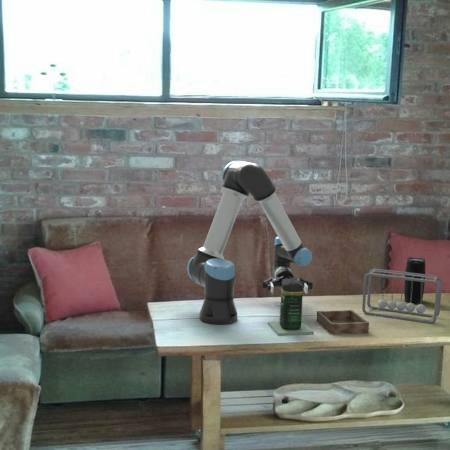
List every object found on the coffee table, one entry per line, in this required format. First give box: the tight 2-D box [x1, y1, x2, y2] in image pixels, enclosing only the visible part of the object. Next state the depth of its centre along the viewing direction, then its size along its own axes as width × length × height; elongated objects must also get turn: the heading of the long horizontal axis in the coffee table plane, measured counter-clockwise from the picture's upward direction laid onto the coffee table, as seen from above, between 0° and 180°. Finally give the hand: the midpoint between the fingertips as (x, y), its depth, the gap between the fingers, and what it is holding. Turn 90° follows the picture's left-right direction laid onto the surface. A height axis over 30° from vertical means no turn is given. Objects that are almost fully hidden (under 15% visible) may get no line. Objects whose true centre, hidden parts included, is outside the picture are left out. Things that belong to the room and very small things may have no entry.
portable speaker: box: [403, 256, 426, 304], centre depth 310 cm, size 9×9×20 cm
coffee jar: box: [279, 278, 304, 330], centre depth 266 cm, size 10×8×19 cm
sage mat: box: [267, 320, 314, 336], centre depth 267 cm, size 14×14×1 cm
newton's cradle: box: [361, 268, 443, 325], centre depth 287 cm, size 30×10×18 cm, turn 66°
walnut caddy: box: [315, 309, 370, 335], centre depth 272 cm, size 15×17×4 cm
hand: (289, 290), depth 273 cm, fingers open, 13 cm apart
